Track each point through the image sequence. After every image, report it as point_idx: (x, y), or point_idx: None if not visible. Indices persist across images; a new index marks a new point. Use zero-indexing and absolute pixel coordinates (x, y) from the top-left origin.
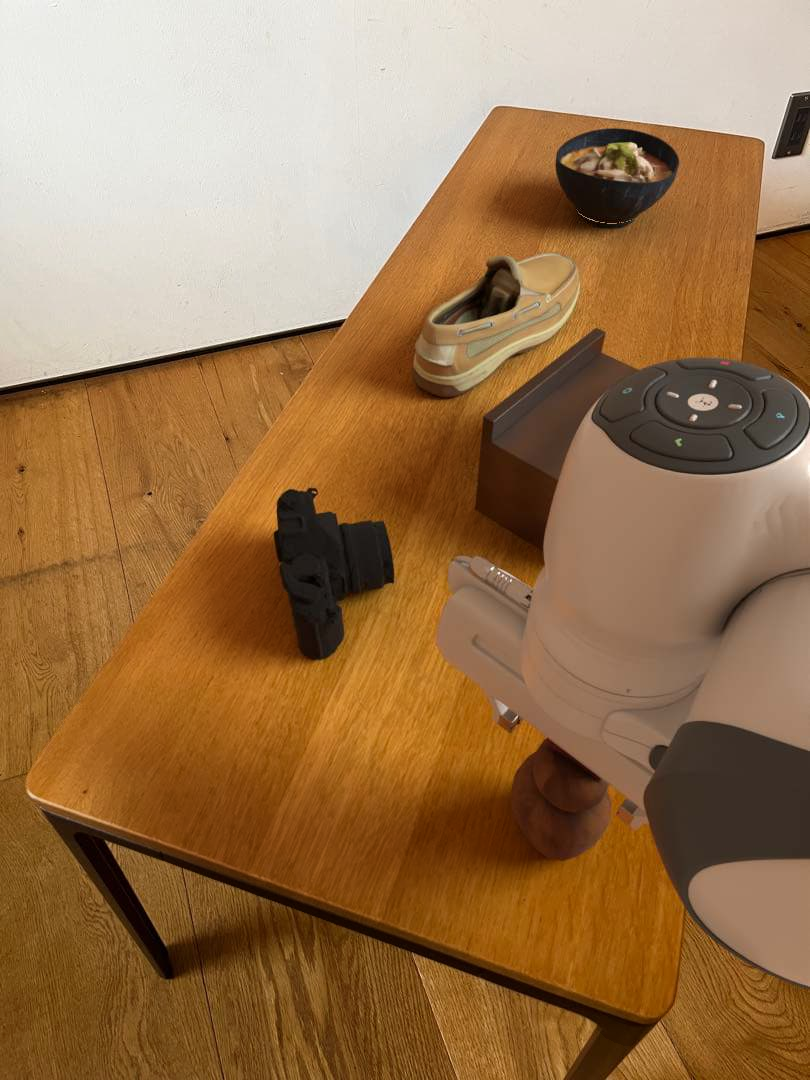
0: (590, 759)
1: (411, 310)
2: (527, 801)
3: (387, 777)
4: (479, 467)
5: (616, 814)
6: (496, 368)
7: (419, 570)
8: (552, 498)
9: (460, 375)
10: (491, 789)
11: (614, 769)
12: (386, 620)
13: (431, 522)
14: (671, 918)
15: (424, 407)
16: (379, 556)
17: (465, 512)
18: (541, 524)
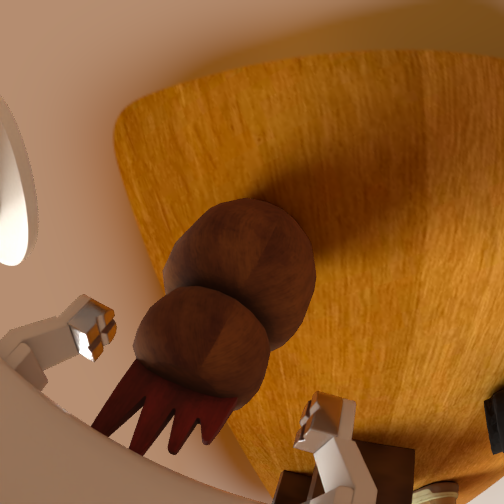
0: (61, 464)
1: None
2: (270, 272)
3: (473, 222)
4: (412, 491)
5: (104, 312)
6: None
7: (459, 410)
8: None
9: (428, 500)
10: (348, 250)
11: (10, 452)
12: (488, 370)
13: (449, 436)
14: (129, 194)
15: (452, 475)
16: (501, 435)
17: (422, 446)
18: None
